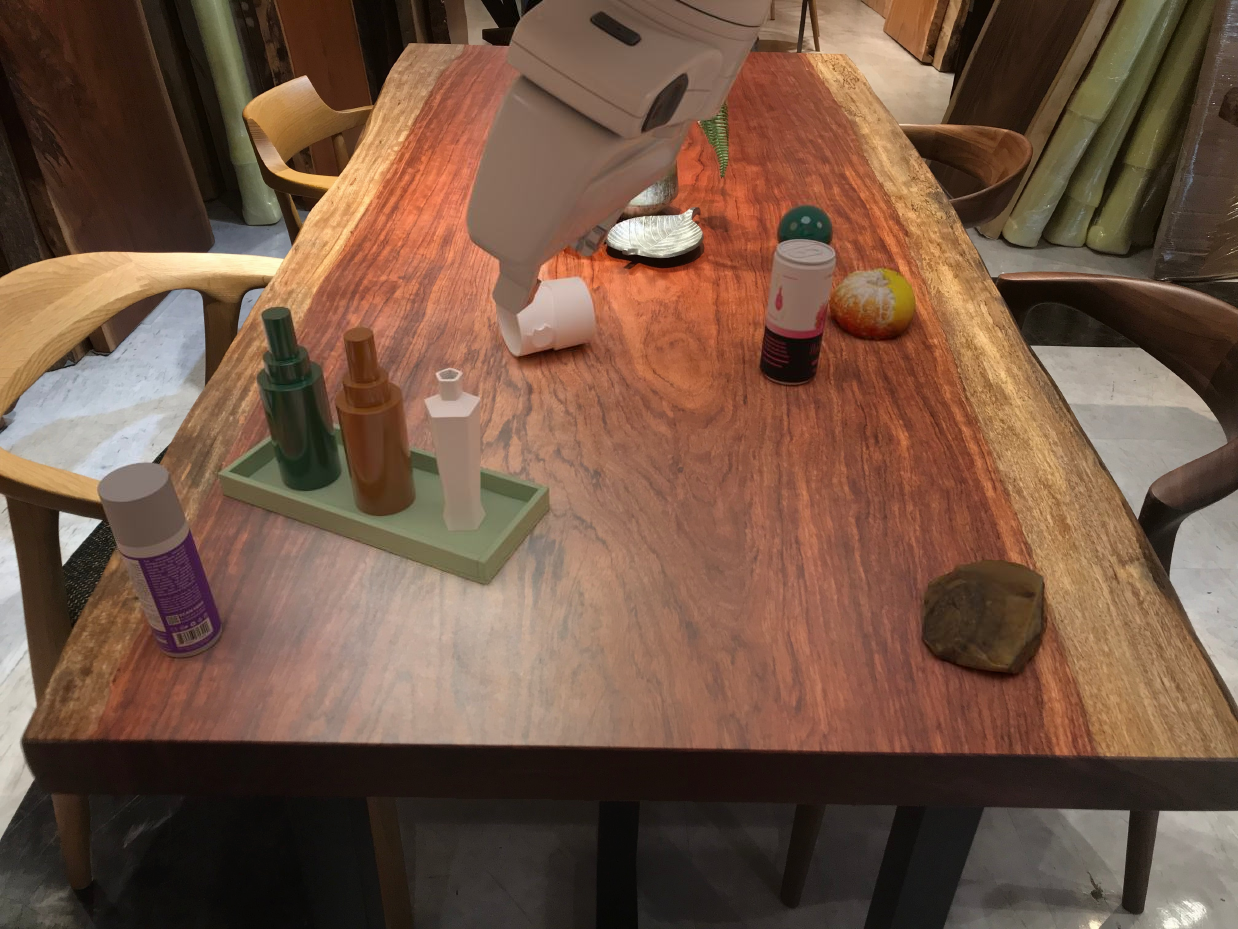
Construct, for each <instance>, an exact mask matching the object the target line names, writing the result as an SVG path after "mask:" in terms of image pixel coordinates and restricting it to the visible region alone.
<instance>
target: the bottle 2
mask: <svg viewBox="0 0 1238 929" xmlns="http://www.w3.org/2000/svg"><path fill="white" fill-rule="evenodd" d="M342 338H343V345H344V349H345V356H346V360H347V366H348V370H347V371H345V372H344V374H343V375H342V377H341V382H342V388H341V389H340V390H339V391H338V392H337V393H336V395H335V398H334V406H335V409H336V414H337V419H338V424H339V425H340V430H341V436H342V441H343V446H344V451H345V456H346V461H347V466H348V471H349V477H350V482H351V487H352V492H353V497H354V502H355V505H356V507H357V508H358V509H359V510H360V511H361V512H363V513H365V514H368V515H373V516H387V515H392V514H396V513H399V512H401V511H403V510H405V509H406V508H408V507H409V506H410V505H411V504H412V503H413V502H414V500H415V498H416V488H415V481H414V474H413V467H412V460H411V453H410V446H411V445H410V441H409V433H408V426H407V419H406V418H407V417H406V412H405V404H404V397H403V392H402V390H401V388H400V387H399V386H398V385H397V384H395V383H393V382H391V381H390V376H389V372H388V370H387V369H386V368H384V367H382V366H380V365H379V360H378V354H377V348H376V342H375V336H374V331H373V330H372V329H371V328H369V327H365V326H360V327H359V326H357V327H352V328H349V329H347V330H346V331H344V332H343V334H342ZM409 445H410V446H409Z"/></svg>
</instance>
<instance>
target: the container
mask: <svg viewBox="0 0 1238 929" xmlns="http://www.w3.org/2000/svg"><path fill="white" fill-rule="evenodd" d="M96 488H97V489H96V491H97V494H98V497H99V500H100V503H101V505H102V508H103V511H104V513H105V516H106V519H107V521H108V524H109V528H110V530H111V533H112V535H113V538H114V540H115V545H116V546H117V549H118V552H119V555H120V557H121V559H122V562H123V564H124V566H125V569H126V571H127V573H128V576H129V579H130V581H131V583H132V586H133V588H134V590H135V594H136V595H137V598H138V600H139V603H140V606H141V607H142V610H143V613H144V615H145V617H146V619H147V623H148V624H149V628H150V630H151V632H152V634H153V637H154V639H155V641H156V644H157V647H158V648H159V650H160V651H161V653H162V654H164V655H166V656H168V657H171V658H177V659H178V658H179V659H180V658H182V659H183V658H188V657H193V656H196V655H199V654H201V653H203V652H206V651H207V650H209V649H210V648H211V647H212V646H214V644H216V643H217V642H218V640H219V639H220V637H221V635H222V634H223V623H222V619H221V617H220V613H219V611H218V607H217V605H216V601H215V599H214V596H213V593H212V590H211V587H210V584H209V581H208V579H207V575H206V572H205V569H204V567H203V564H202V560H201V557H200V555H199V552H198V548H197V545H196V542H195V540H194V536H193V533H192V530H191V528H190V525H189V522H188V519H187V517H186V515H185V512H184V510H183V507H182V504H181V501H180V499H179V496H178V493H177V490H176V489H175V485H174V483H173V481H172V478H171V475H170V473H169V470H168V468H166V467H165V466H163V465H162V464H159V463H156V462H136V463H129V464H126V465H124V466H121V467H118V468H116V469H114V470H112V471H111V472H109V473H107V474H106V475H105V476H103V477H102V479H101V480H100V481H99V483H98V485H97V487H96Z"/></svg>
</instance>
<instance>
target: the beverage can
mask: <svg viewBox="0 0 1238 929" xmlns="http://www.w3.org/2000/svg"><path fill="white" fill-rule="evenodd" d="M836 264H837V258H836V250H835V249H834V248H833V247H832V246H831V245H830V246H828V245H826V244H824V243H821V242H818V241H813V240H805V239H795V240H788V241H784V242H782V243H780V244H778V245H776V250H775V251H774V253H773V260H772V268H771V275H770V283H769V291H768V299H767V307H766V315H765V323H764V328H763V329H764V331H763V337H762V346H761V352H760V361H759V370H760V372H761V373H762V374H763V375H764V376H765V377H766V378H767V379H768V380H770V381H772V382H774V383H778V384H781V385H787V386H797V385H803V384H806V383H807V382H809V381H811V380H813V379H814V378H815V377H816V375H817V371H818V365H819V361H820V354H821V348H822V342H823V338H824V337H823V336H824V331H825V325H826V319H827V315H828V314H827V313H828V308H829V304H830V303H829V300H830V298H831V291H832V284H833V281H834V280H833V279H834V274H835V267H836Z"/></svg>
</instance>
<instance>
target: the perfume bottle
mask: <svg viewBox="0 0 1238 929" xmlns="http://www.w3.org/2000/svg"><path fill="white" fill-rule="evenodd" d="M463 374H464V373H463V372H462V371H461V370H458V369H455V368H452V367H447V368H445V369H441V370H439V371H436V372H435V376H436V379H437V384H438V393H437V394H434V395H432V396H429V397H426V398H424V400H423V401H424V405H425V410H426V416H427V419H428V425H429V430H430V434H431V439H432V440H431V441H432V445H433V448H434V453H435V455H436V460H437V465H438V470H439V475H440V480H441V485H442V490H443V495H444V500H445V506H444V511H443V518H444V521H445V523H446V526H447V528H448V530H449V531H470V530H477V529H478V527H479V525H480V524H481V522H482V520H483V519H484V517H485V515H486V513H485V511H484V509H483V506H482V504H481V502H480V467H481V398H480V397H479V396H476V395H474V394H472V393H468V392H465V391H463V384H462V383H463V381H462V380H463V379H462V376H463Z"/></svg>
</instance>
